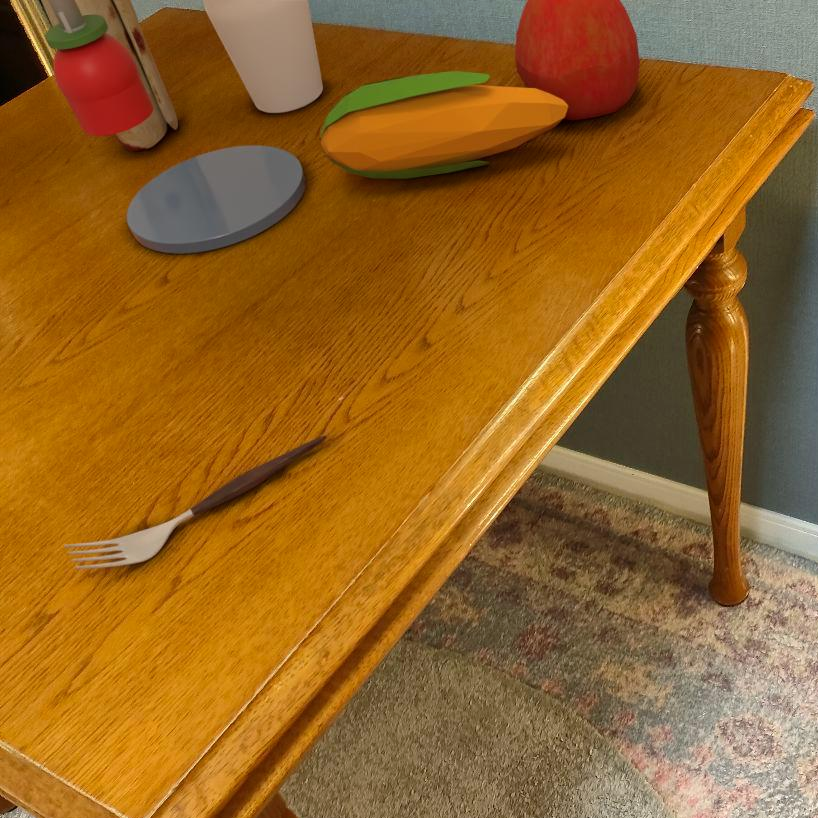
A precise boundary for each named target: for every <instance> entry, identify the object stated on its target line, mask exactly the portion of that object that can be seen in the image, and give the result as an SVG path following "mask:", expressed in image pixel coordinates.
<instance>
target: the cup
mask: <svg viewBox="0 0 818 818" xmlns="http://www.w3.org/2000/svg"><path fill="white" fill-rule="evenodd" d="M202 2H203V7H204V10H205V13H206V15H207V17H208V19H209V21H210V23H211V24H212V27H213V28H214V30H215V32H216V34H217V36H218V38H219V39H220V42H221V44H222V45H223V47H224V49H225V51H226V53H227V55H228V57H229V58H230V61H231V63H232V64H233V66H234V68H235V70H236V72H237V74H238V76H239V77H240V79H241V82H242V83H243V85H244V87H245V89H246V91H247V93H248V94H249V97H250V98H251V100H252V102H253V103H254V105H255V107H256V109H257V110H259V111H262V112H264V113H268V114H269V113H270V114H284V113H289V112H293V111H296V110H300V109H302V108H304V107H306V106H308V105H310V104H312V103H313V102H314V101H316V100H317V99H318V98H319V97H320V96H321V94H322V92H323V90H324V87H323V86H324V85H323V80H322V74H321V68H320V62H319V55H318V52H317V51H318V50H317V45H316V40H315V34H314V28H313V22H312V21H313V20H312V16H311V11H310V5H309V0H202Z"/></svg>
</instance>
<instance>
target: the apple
mask: <svg viewBox="0 0 818 818" xmlns="http://www.w3.org/2000/svg"><path fill="white" fill-rule="evenodd" d="M630 18H631V17H630V15H629V14H628V11H627V9H626V7H625V5H624V4H623V3H622V1H621V0H527V1H526V2H525V5H524V7H523V10H522V12H521V15H520V18H519V21H518V26H517V31H516V33H515V47H514V48H515V49H514V60H515V66H516V72H517V74H518V75H519V77H520V79H521V80H522V82H523V84H524V86H525V88H536V89H539V90H541V91H544V92H547V93H550V94H552V95H554V96H556V97H558V98H560V99H562V100H564V101H565V103H566V104H567V105H568V109H567V112H566V115H565V117H564V118H563V119H562V120H569V121H579V120H585V119H591V118H593V119H594V118H597V117H601V116H605V115H609V114H613V113H616V112H617V111H619V110H620V109H622V108H623V107H624V106H625V105H626V104H628V103H629V101H630V100H631V98H632V96H633V94H634V92H635V91H636V89H637V87H638V81H639V73H640V63H641V62H640V53H639V45H638V44H639V43H638V36H637V33H636V30H635V28H634V25H633V23H632V21H631V19H630Z"/></svg>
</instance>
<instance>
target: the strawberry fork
mask: <svg viewBox="0 0 818 818" xmlns="http://www.w3.org/2000/svg"><path fill="white" fill-rule="evenodd" d="M48 2H49V4H50V6H51V8H52V10H53V12H54V14H55V16H56V18H57V20H58V22H59V24H57V25H55V26H54V27H52V26H51V28H50V29H48V30H47V31H46V33H44V34H45V35H44V38H45V41H46V43H47V45H48V46H49V47H50V48H51V49H53V50H55V52H54V56H53V63H52V65H53V75H54V78H55V82H56V84H57V85H56V86H57V87H58V89H59V90H60V92H61V95H63V96H64V98H65V99H66V101H67V102H68V104H69V107H70V109H71V110H72V113H73V114H74V116H75V118H76V120H77V122H78V124H79V126H80V128H81V130H82V131H83V132H84V134H86V135H88V136H92V137H105V136H108V137H109V136H112V135H115V134H117V133H120V132H124V131H126V130H129V129H131V128H133V127H135V126H137V125H139V124H140V123H142V122H143V121H145V120H146V119H147V118H148V117H149V116H150V115H151V114H152V112H153V109H154V107H153V104H152V102H151V100H150V97H149V95H148V93H147V91H146V88H145V86H144V84H143V82H142V80H141V77H140V75H139V72H138V68H137V65H136V62H135V60H134V58H133V56H132V55H131V53H130V52H129V50H128V49H127V48H126V47H125V46H124V45H123V44H122V43H121V42H120V41H119V40H117V39H116V38H114V37H113V36H111V35H109V34H107V33H106V31H107V30H108V25H107V23H106V21H105V18H104V17H103V16H101V15H95V14H91V15H82V14H81V12H80V10H79V7H78V5H77V3H76V1H75V0H48Z"/></svg>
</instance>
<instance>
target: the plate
mask: <svg viewBox="0 0 818 818" xmlns="http://www.w3.org/2000/svg"><path fill="white" fill-rule="evenodd" d="M306 186H307V178H306V175H305V172H304V169H303V166H302V164H301V162H300V161H299V159H298V158H297V157H296V156H295V155H294V154H293V153H291V152H289V151H287V150H285V149H283V148H279V147H274V146H268V145H258V144H257V145H255V144H253V145H241V146H240V145H238V146H231V147H226V148H221V149H216V150H213V151H212V150H211V151H209V152H206V153H202V154H199V155H196V156H194V157H191V158H188V159H186V160H184V161H181V162H178V163H177V164H175V165H173V166H171V167H169V168H167V169H166V170H164V171H163V172H160V173H159V174H158V175H156V176H155V177H154V178H152V179H151V180H150V181H148V182H147V183H146V184H145V185H144V186H142V188H141V189H140V190H138V192H137V193H136V194H135V195H134V196H133V198H132V199H131V202H130V203H129V204H128V205H129V206H128V208H127V211H126V223H127V226H128V228H129V230H130V232H131V234H132V236H133V237H134V239H135V240H136V241H137V242H138V243H139V244H140V245H141V246H143V247H145V248H147V249H149V250H152V251H156V252H158V253H159V252H160V253H165V254H174V255H175V254H177V255H178V254H179V255H181V254H182V255H183V254H194V253H195V254H197V253H203V252H209V251H213V250H218V249H222V248H226V247H228V246H232V245H235V244H237V243H240V242H243V241H246V240H247V239H250V238H252V237H254V236H257V235H259V234H260V233H262V232H264V231H266V230H267V229H269V228H271V227H273V226H274V225H275V224H278V223H279V222H280V221H281V220H283V218H285V217H286V216H287V215H288V214H289V213H290V212H292V210H293V209H295V207H296V206H297V205H298V203H299V202H300V200H301V199H302V197H303V195H304V194H305V193H304V192H305V191H306Z"/></svg>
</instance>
